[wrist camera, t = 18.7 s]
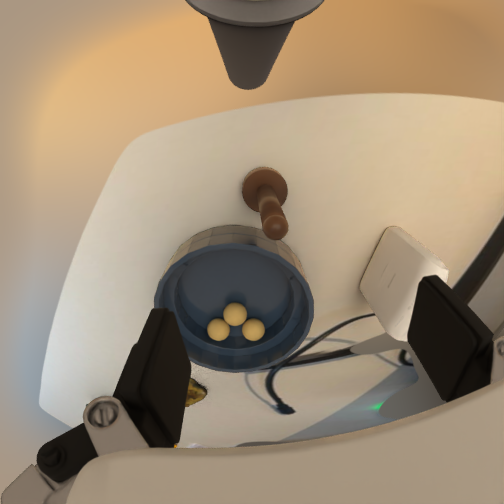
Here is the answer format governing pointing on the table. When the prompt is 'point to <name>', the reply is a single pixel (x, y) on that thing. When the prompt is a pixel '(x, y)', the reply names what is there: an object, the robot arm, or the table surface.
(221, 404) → the table surface
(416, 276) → the photo printer
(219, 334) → the dough ball
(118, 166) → the table surface
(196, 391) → the lumpy olive cookie
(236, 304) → the dough ball
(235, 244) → the bowl
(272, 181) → the wooden dough tamper
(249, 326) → the dough ball
